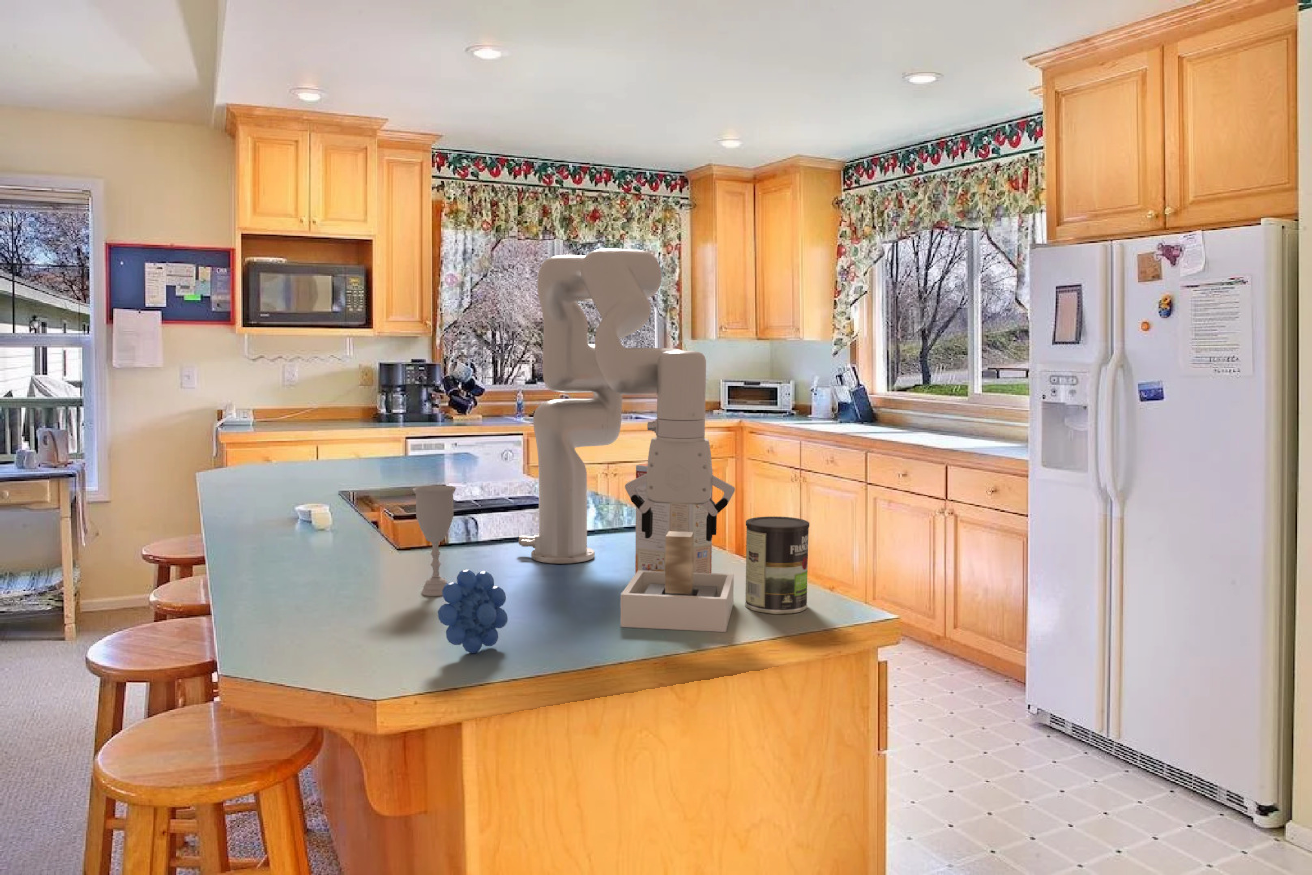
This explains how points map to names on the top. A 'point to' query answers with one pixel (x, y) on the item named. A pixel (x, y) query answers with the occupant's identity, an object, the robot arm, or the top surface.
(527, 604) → the top surface
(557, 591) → the top surface
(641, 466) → the cracker box
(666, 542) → the peg
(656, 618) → the walled box
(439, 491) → the chalice
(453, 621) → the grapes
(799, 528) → the coffee can
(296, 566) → the top surface
